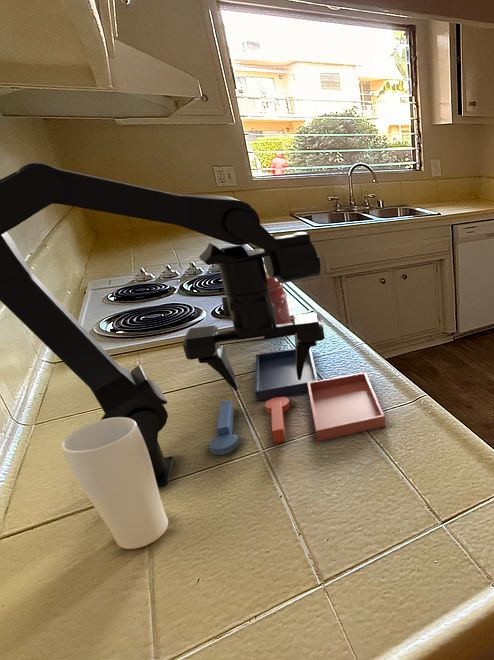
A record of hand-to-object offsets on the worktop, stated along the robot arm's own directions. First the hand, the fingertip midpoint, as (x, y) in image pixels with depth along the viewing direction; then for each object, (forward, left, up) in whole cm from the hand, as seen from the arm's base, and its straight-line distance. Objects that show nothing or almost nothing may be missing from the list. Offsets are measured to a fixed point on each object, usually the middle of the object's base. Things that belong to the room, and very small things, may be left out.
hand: (268, 383), depth 73 cm
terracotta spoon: (+2, 0, -8) cm, 9 cm away
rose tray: (+2, -11, -8) cm, 14 cm away
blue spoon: (+2, +8, -8) cm, 12 cm away
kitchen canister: (+47, +2, -9) cm, 48 cm away
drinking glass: (-18, +16, -9) cm, 26 cm away
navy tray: (+19, -2, -8) cm, 21 cm away
